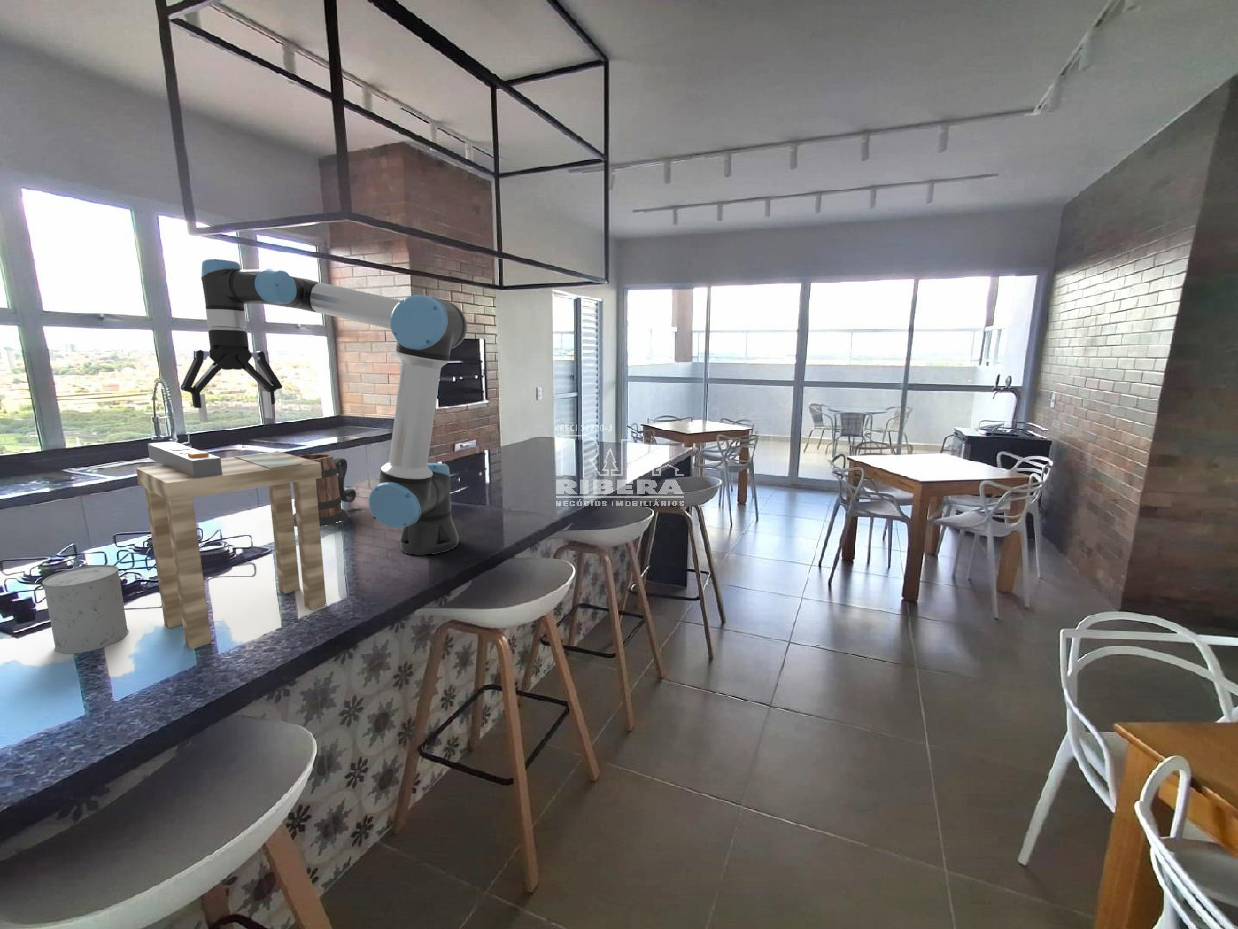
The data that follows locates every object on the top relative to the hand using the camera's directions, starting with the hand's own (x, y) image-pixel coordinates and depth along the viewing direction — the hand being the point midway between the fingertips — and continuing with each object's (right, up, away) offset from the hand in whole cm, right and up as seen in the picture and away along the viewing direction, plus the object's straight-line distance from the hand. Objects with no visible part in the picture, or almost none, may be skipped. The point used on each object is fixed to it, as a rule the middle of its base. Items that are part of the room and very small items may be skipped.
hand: (237, 419), depth 133 cm
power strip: (+12, -11, -31) cm, 35 cm away
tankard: (-1, -27, +42) cm, 50 cm away
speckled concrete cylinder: (-2, -42, -35) cm, 55 cm away
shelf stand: (+19, -40, -24) cm, 51 cm away
